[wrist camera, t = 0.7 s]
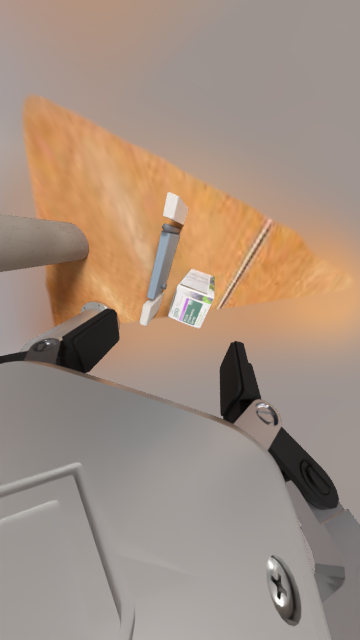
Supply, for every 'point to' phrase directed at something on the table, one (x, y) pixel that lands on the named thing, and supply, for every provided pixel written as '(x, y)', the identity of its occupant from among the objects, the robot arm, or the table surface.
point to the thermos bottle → (38, 242)
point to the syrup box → (192, 298)
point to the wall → (177, 213)
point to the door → (163, 260)
